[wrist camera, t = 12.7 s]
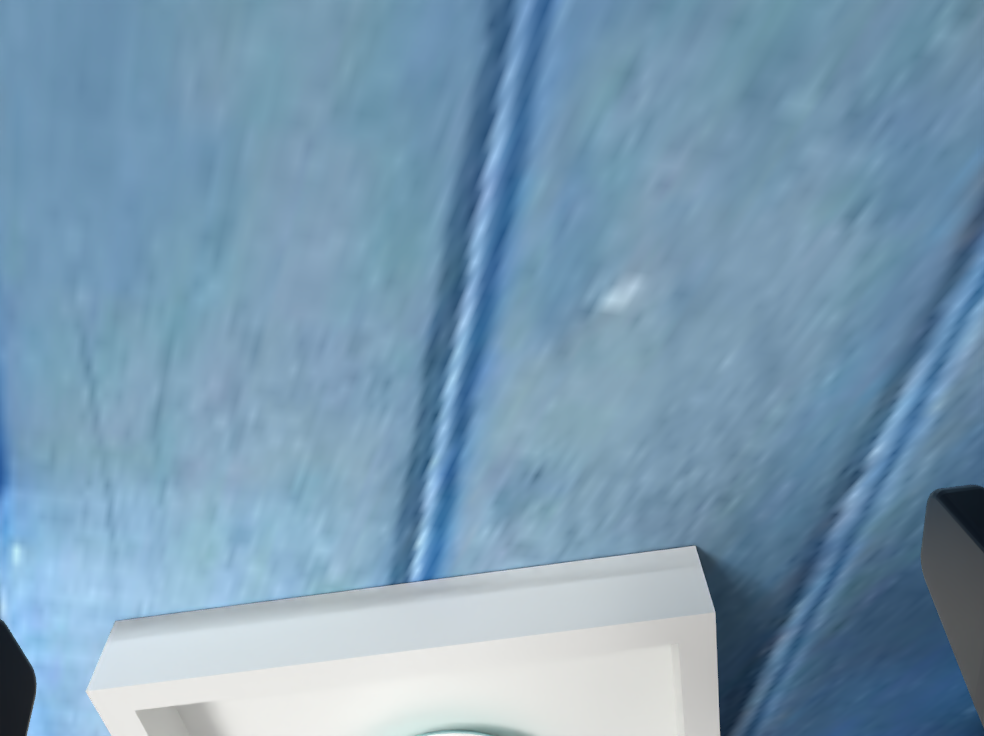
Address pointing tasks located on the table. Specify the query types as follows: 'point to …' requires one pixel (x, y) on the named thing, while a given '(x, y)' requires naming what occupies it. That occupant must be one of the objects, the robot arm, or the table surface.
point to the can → (455, 733)
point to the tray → (433, 658)
